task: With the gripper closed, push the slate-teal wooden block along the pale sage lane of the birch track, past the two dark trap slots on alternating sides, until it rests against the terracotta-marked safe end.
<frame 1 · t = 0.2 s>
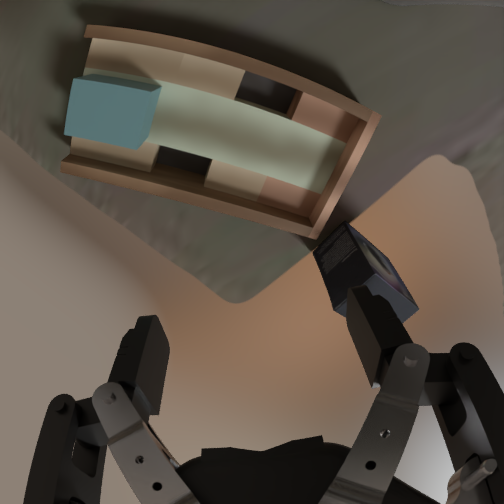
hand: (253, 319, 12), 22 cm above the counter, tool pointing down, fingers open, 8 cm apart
block: (119, 104, 24), point 3 cm above the counter, touching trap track
small box: (352, 253, 40), on the counter
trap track: (213, 120, 28), on the counter
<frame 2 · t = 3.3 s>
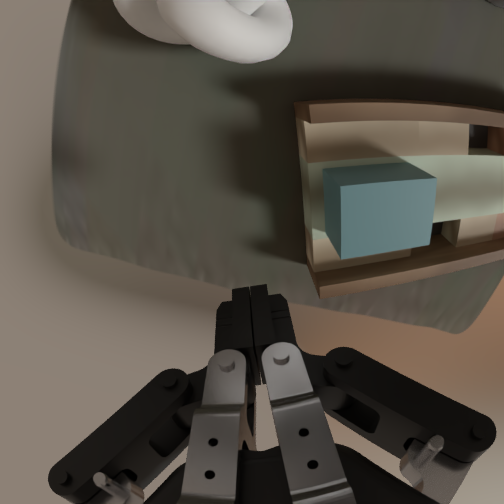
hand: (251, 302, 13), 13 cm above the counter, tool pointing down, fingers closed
white knot sculpture: (224, 8, 17), on the counter
block: (368, 196, 22), point 3 cm above the counter, touching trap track
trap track: (438, 177, 24), on the counter
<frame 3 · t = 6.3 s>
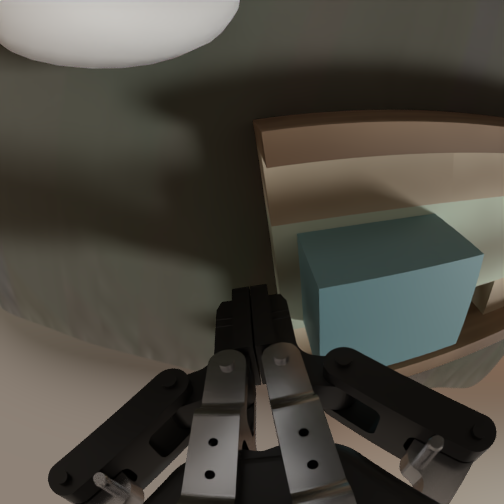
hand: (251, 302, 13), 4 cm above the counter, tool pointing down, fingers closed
block: (370, 269, 14), point 3 cm above the counter, touching gripper, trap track
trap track: (469, 221, 16), on the counter
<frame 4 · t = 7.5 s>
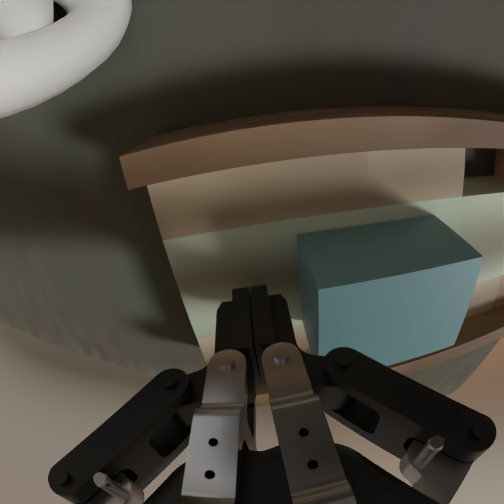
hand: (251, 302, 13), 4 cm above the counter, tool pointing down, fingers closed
white knot sculpture: (63, 17, 10), on the counter
block: (369, 270, 14), point 3 cm above the counter, touching gripper, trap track
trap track: (415, 227, 17), on the counter
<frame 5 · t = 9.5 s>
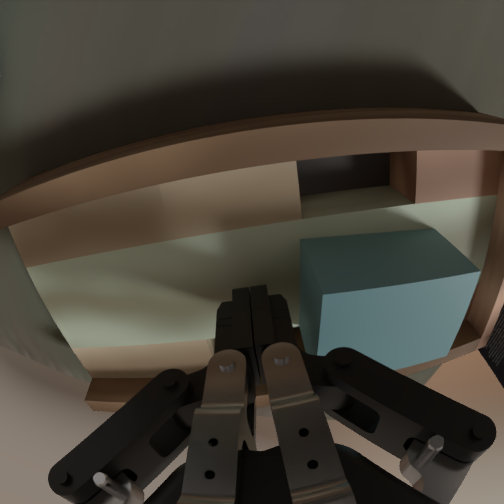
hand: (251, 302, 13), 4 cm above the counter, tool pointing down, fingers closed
block: (368, 278, 14), point 3 cm above the counter, touching gripper
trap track: (277, 250, 17), on the counter
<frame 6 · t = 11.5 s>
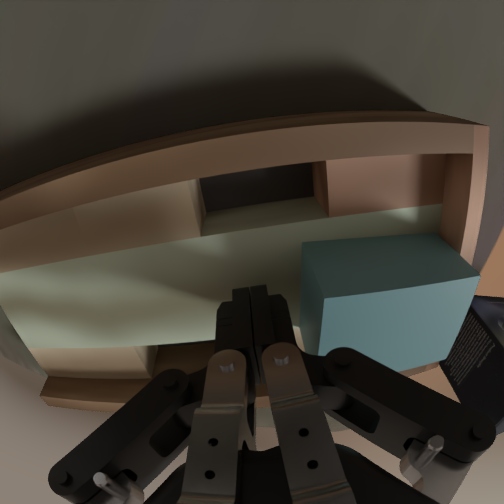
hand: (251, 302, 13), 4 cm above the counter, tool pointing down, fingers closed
block: (368, 281, 14), point 3 cm above the counter, touching gripper, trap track
small box: (479, 319, 22), on the counter
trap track: (200, 263, 17), on the counter
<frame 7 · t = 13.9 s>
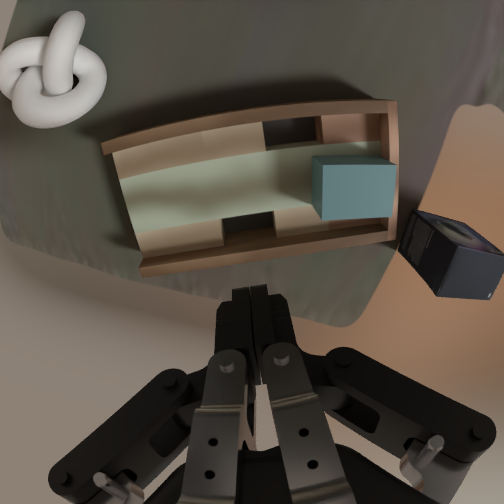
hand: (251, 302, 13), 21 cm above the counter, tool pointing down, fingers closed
white knot sculpture: (75, 76, 25), on the counter
block: (345, 179, 29), point 3 cm above the counter, touching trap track
small box: (433, 234, 36), on the counter
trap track: (257, 175, 31), on the counter
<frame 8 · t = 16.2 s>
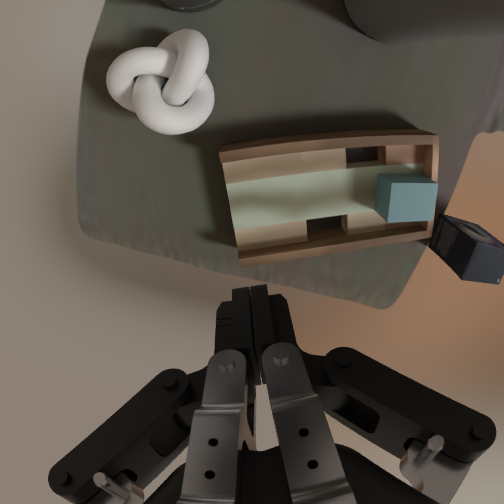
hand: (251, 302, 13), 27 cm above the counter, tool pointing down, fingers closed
white knot sculpture: (177, 87, 32), on the counter
block: (399, 191, 36), point 3 cm above the counter, touching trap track
canister: (380, 8, 27), on the counter
small box: (453, 233, 44), on the counter
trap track: (332, 185, 39), on the counter
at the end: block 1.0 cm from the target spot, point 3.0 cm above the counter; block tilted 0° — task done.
